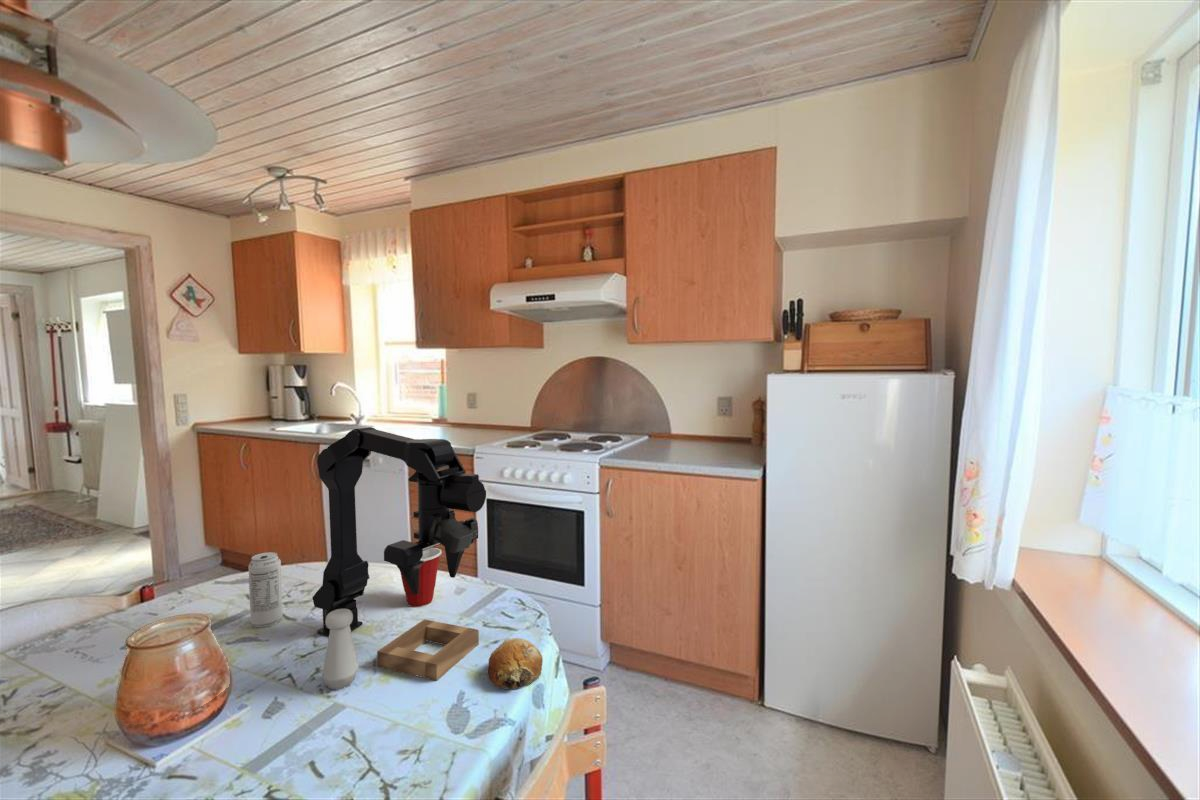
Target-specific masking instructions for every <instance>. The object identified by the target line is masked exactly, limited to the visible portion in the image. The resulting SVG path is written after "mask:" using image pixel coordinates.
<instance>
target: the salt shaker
mask: <svg viewBox="0 0 1200 800" xmlns="http://www.w3.org/2000/svg"><path fill="white" fill-rule="evenodd" d="M352 620H353V614H352V612H351V611H350V610H349V609H337V610H334V611H332V612H330V613H329V614H328V615H327V617H326V621H325V622H326V626H327V628H328V629H330V634H329V636H328V640H327V645H326V646H327V647H326V651H325V657H324V661H323V662H324V663H323V669H322V673H321V676H322V679H323V680H324V682H325V684H326V686H327V687H328V689H329V688H331V689H330V690H335V689H338V690H337V691H339V689H340V690H342V689H345V688H347V687H350V686H351V685H352V683H353V682H354V681H355V678H356V676H357V674H358V670H359V666H360V665H359V661H358V655H357V651H356V646H355V642H354V638H353V635H352V631H351V629H350V624H351V623H352ZM344 687H345V688H344Z"/></svg>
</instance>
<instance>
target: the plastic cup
mask: <svg viewBox="0 0 1200 800" xmlns="http://www.w3.org/2000/svg"><path fill="white" fill-rule="evenodd" d="M441 555H442V549H440V548H438V547H432V548H430V549H427V550H424V551H423V556H422V558H421V560H420V561H424V563H423V564H422V565H421V567H420V568H419V592H418V594H417V595H415V594H413V593H412V591H411V589H410V587H409V585H408V584H407V582H406V580H405V578H404V576H403V574H402V573H401V571H400V570H399V572H400V577H401V581H402V587H403V591H404V595H405V598H406V602H407V605H408V606H409V607H414V608H415V607H416V608H417V607H424V606H427V605H429V604H430V603H432V602H433V599H434V595H435V594H434V593H435V587H436V583H437V582H436V581H437V573H438V567H439V561H440V557H441Z"/></svg>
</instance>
